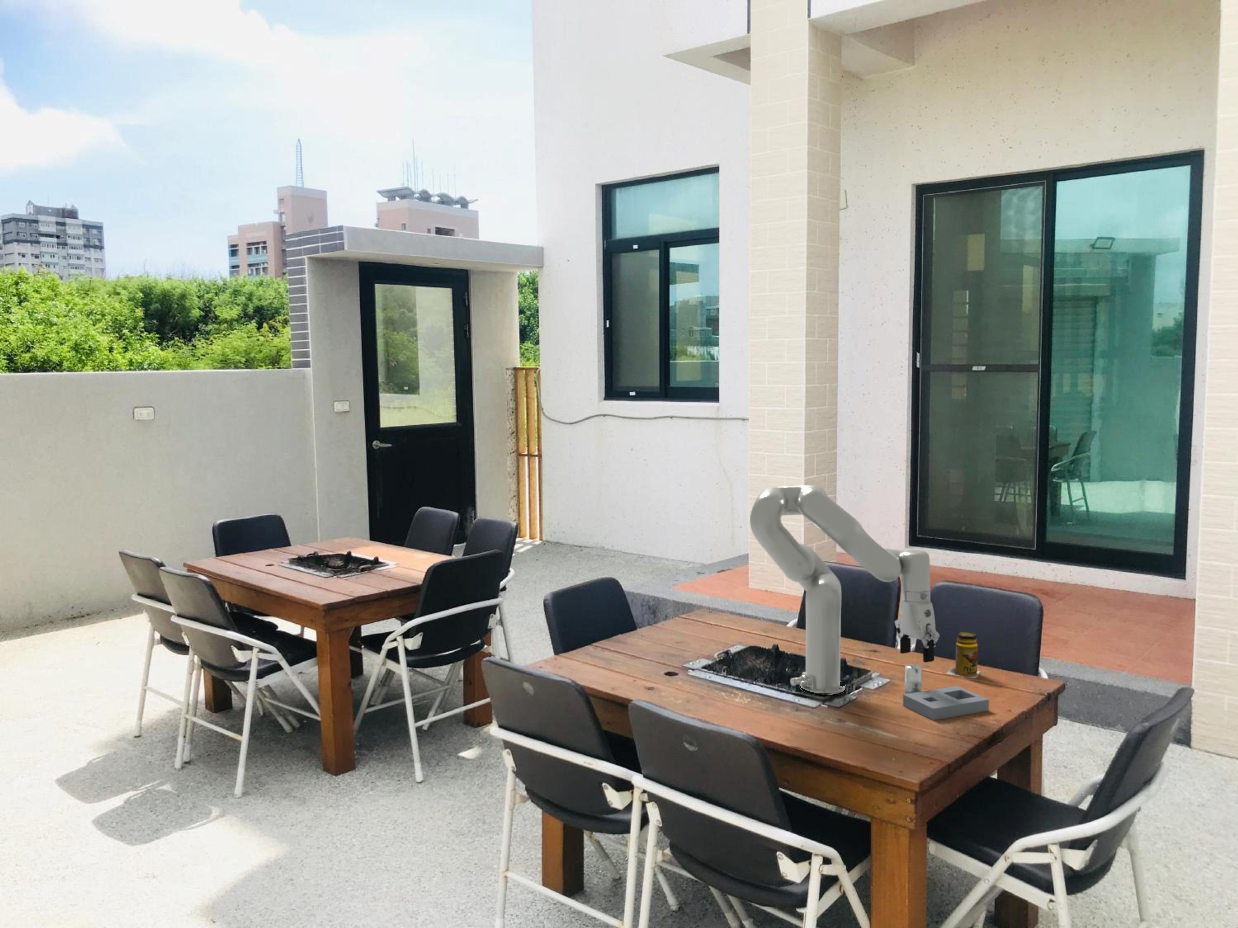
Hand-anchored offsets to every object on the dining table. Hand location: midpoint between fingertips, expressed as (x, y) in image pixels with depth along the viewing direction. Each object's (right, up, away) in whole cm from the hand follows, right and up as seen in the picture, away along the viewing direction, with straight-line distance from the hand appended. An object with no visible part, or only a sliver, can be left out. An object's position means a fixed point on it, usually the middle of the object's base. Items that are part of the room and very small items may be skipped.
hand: (916, 657), depth 266 cm
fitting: (-1, -11, +1) cm, 11 cm away
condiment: (+20, -9, +20) cm, 30 cm away
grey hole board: (+5, -12, -10) cm, 16 cm away
